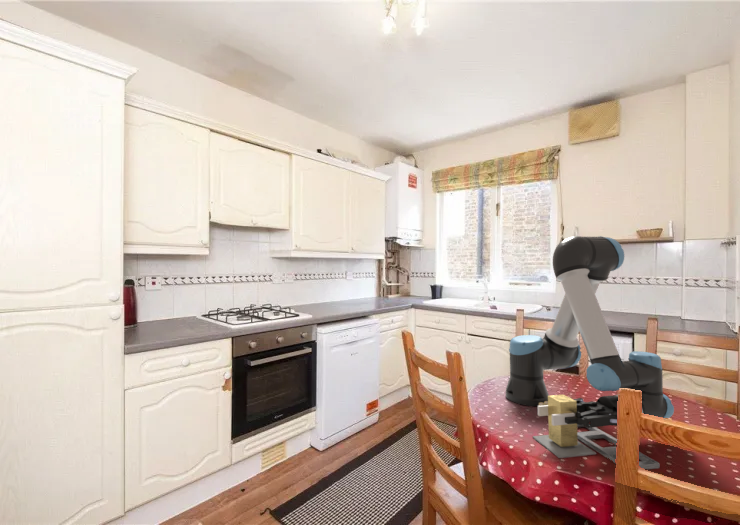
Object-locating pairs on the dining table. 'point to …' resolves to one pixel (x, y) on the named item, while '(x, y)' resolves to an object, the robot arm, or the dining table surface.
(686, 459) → the dining table surface
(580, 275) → the robot arm
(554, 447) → the mat
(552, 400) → the block
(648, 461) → the rail
